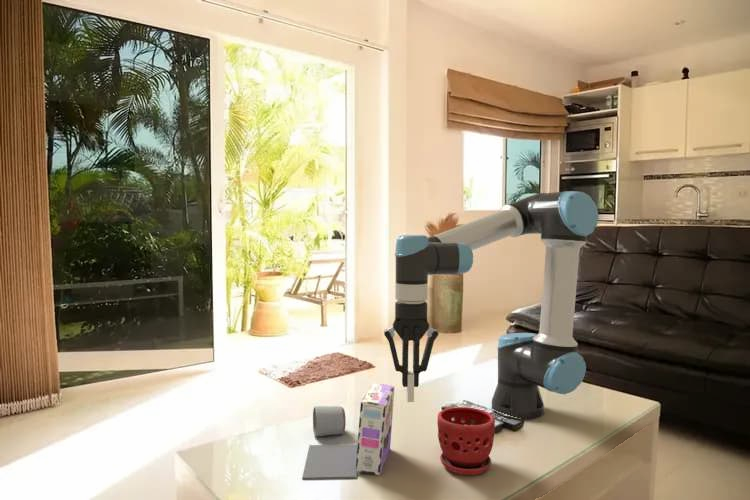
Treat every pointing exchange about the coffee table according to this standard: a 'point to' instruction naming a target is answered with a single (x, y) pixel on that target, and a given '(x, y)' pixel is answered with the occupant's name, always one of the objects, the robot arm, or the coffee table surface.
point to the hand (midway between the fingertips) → (410, 399)
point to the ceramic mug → (328, 420)
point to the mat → (331, 462)
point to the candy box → (375, 428)
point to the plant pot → (466, 439)
